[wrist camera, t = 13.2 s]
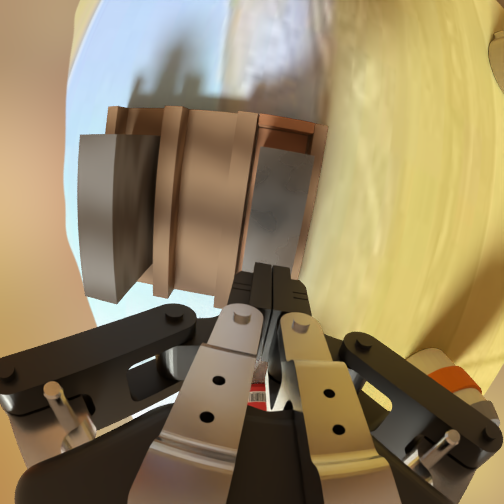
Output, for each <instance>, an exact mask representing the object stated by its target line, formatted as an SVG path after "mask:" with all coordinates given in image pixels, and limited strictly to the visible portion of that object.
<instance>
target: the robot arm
mask: <svg viewBox="0 0 504 504" xmlns="http://www.w3.org/2000/svg"><path fill="white" fill-rule="evenodd" d="M494 36H495V38H494V40H493V41H492V42H491V43H490V46H489V59H490V64H491V68H492V71H493V74H494V76H495V78H496V81H497V83H498V85H499V86H500V88H501V90H502V91H503V93H504V30H502V31H499V32H496V33H494ZM261 351H262V352H261ZM260 355H261V361H265V362H268V368H267V372H266V375H265V387H266V404H267V411H264V410H261V409H258V408H255V407H252V406H249V405H247V403H248V398H249V393H250V389H251V384H252V379H253V374H254V369H255V363H256V360H257V361H259V359H260ZM153 356H155V357H156V359H153V360H151V361H149V362H146V363H144V364H142V365H139V366H137V367H135V368H132V369H130V370H129V368H130V367H131V366H133V365H134V364H136V363H139V362H141V361H143V360H146V359H148V358H150V357H153ZM366 381H368V382H369V383H370V384H371V385H373V386H374V387H375V388H377V389H378V390H379V391H380V392H382V393H383V394H384V395H386V396H387V397H388V398H389V399H390V400H391V402H392V410H391V412H390V411H387V410H386V409H384V408H383V407H382V406H381V405H379V404H378V403H377V402H376V401H374V400H373V399H372V398H371V397H369V396H368V395H367V394H366V393H364V392H363V391H362V390H361V389H362V387H363V386H364V384H365V382H366ZM178 391H179V394H178V396H177V398H176V400H175V403H171V404H167V405H163V406H160V407H157V408H155V409H152V410H150V411H148V412H146V413H144V414H143V415H141V416H139V417H137V418H135V419H133V420H131V421H129V422H128V423H125V424H123V425H122V426H120V427H118V428H116V429H114V430H112V431H110V432H107V433H105V434H103V435H101V436H99V437H97V438H95V436H96V431H97V430H100V429H102V428H104V427H107V426H109V425H111V424H113V423H116V422H118V421H120V420H122V419H124V418H126V417H128V416H130V415H133V414H135V413H137V412H139V411H141V410H143V409H145V408H147V407H149V406H151V405H153V404H155V403H157V402H159V401H161V400H163V399H165V398H167V397H169V396H171V395H173V394H175V393H177V392H178ZM0 404H1V407H2V408H3V410H4V411H5V413H6V414H7V415H8V417H9V419H10V423H11V426H12V429H13V432H14V435H15V438H16V441H17V444H18V446H19V449H20V452H21V454H22V457H23V459H24V462H25V464H26V467H27V470H26V471H25V472H24V474H23V475H22V476H21V478H20V479H19V481H18V484H17V486H16V490H15V504H458V503H459V501H460V499H461V498H462V496H463V494H464V492H465V490H466V489H467V486H468V485H469V483H470V481H471V479H472V477H473V475H474V473H475V471H476V469H478V468H479V467H480V466H481V465H482V464H484V463H485V462H486V461H487V460H488V459H489V458H490V457H491V456H493V455H494V454H495V453H496V452H497V451H498V450H499V449H500V448H501V446H502V443H503V436H502V432H501V430H500V428H499V427H498V426H497V425H496V424H495V423H494V422H493V421H491V420H490V419H489V418H487V417H486V416H484V415H483V414H482V413H480V412H479V411H477V410H476V409H475V408H473V407H472V406H470V405H469V404H467V403H466V402H465V401H463V400H462V399H460V398H459V397H458V396H456V395H455V394H453V393H452V392H450V391H449V390H448V389H446V388H445V387H443V386H442V385H441V384H439V383H438V382H436V381H435V380H434V379H432V378H431V377H429V376H428V375H426V374H425V373H424V372H422V371H421V370H419V369H418V368H417V367H415V366H414V365H412V364H411V363H409V362H408V361H407V360H405V359H404V358H402V357H401V356H400V355H398V354H397V353H395V352H394V351H392V350H391V349H390V348H388V347H387V346H385V345H384V344H383V343H381V342H380V341H378V340H377V339H375V338H374V337H372V336H371V335H369V334H366V333H362V332H351V333H348V334H347V335H346V336H345V337H344V340H343V341H342V340H339V339H336V338H333V337H330V336H328V335H326V334H324V333H323V331H322V328H321V325H320V323H319V322H318V321H317V320H316V319H315V318H313V317H312V315H311V310H310V305H309V301H308V295H307V290H306V287H305V286H304V284H303V283H302V282H301V281H300V280H294V279H291V274H290V268H289V267H283V266H277V265H273V266H272V265H271V264H265V263H259V262H255V265H254V270H253V273H251V272H245V271H240V272H239V273H237V274H236V275H235V276H234V280H233V284H232V288H231V291H230V295H229V299H228V302H227V306H225V307H224V308H223V309H222V310H221V312H220V315H218V316H216V317H212V318H197V317H196V313H195V312H194V311H193V310H192V309H191V308H189V307H187V306H185V305H181V304H165V305H161V306H158V307H156V308H153V309H150V310H147V311H144V312H141V313H138V314H135V315H132V316H129V317H126V318H123V319H120V320H117V321H114V322H111V323H108V324H105V325H102V326H99V327H96V328H93V329H91V330H87V331H84V332H81V333H79V334H75V335H72V336H69V337H66V338H63V339H60V340H57V341H54V342H50V343H47V344H44V345H41V346H38V347H34V348H31V349H28V350H25V351H21V352H18V353H15V354H12V355H9V356H5V357H2V358H0Z"/></svg>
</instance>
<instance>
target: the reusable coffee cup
mask: <svg viewBox="0 0 504 504" xmlns="http://www.w3.org/2000/svg"><path fill="white" fill-rule="evenodd" d="M406 360H407V361H408V362H409V363H411V364H412V365H414V366H415V367H417V368H418V369H419V370H421V371H422V372H424V373H425V374H426V375H428V376H429V377H431V378H432V379H434V380H435V381H436V382H438V383H439V384H441V385H442V386H443V387H445V388H446V389H448V390H449V391H450V392H452V393H453V394H455V395H456V396H458V397H459V398H460V399H462V400H463V401H465V402H466V403H467V404H469V405H470V406H472V407H473V408H475V409H476V410H477V411H479V412H480V413H482V414H483V415H484V416H486V417H487V418H489V419H490V420H491V421H493V422H494V423H495V424H496V425H497V426H498V427H499V424H500V421H499V418H498V415H497V413H496V411H495V408H494V406H493V404H492V402H491V401H487V400H486V399H485V398H484V397H483V396H482V391H481V388H480V387H479V386H478V385H477V384H476V383H475V381H474V380H473V379H472V378H471V377H470V376H469V375H468V374H467V373H466V372H465V371H464V369H462V368H461V367H459V366H456V365H455V364H454V363H453V362H452V361H451V360H450V359H449V358H448V357H447V356H446V355H445V354H444V353H443V352H442V351H441V350H440V349H437V348H428V349H424V350H422V351H419V352H417V353H415V354H413V355H412V356H410V357H409V358H408V359H406Z"/></svg>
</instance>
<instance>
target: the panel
mask: <svg viewBox="0 0 504 504" xmlns="http://www.w3.org/2000/svg"><path fill="white" fill-rule="evenodd" d="M314 158H315V156H313V155H308V154H302V153H297V152H292V151H286V150H280V149H274V148H268V147H262V146H260V152H259V159H258V165H257V172H256V178H255V185H254V191H253V198H252V204H251V211H250V218H249V224H248V231H247V238H246V244H245V251H244V258H243V265H242V271H245V272H251V273H253V270H254V265H255V262H259V263H265V264H271V265H272V266H273V265H277V266H283V267H289V268H290V274H291V273H292V268H293V264H294V259H295V255H296V250H297V245H298V240H299V236H300V231H301V226H302V221H303V216H304V211H305V206H306V201H307V196H308V191H309V185H310V180H311V174H312V169H313V163H314Z"/></svg>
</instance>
